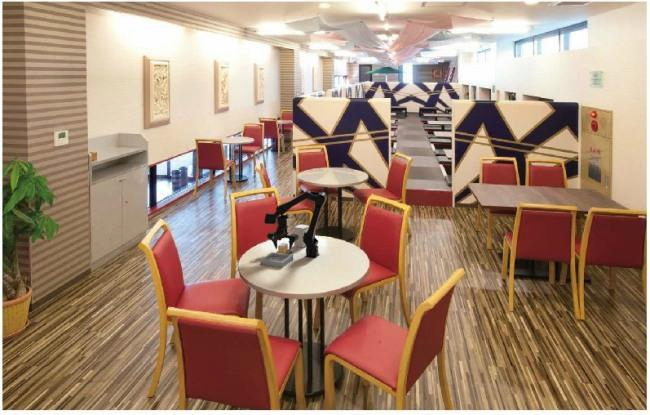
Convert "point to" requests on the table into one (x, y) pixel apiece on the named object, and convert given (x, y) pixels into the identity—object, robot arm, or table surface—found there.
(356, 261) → the table surface
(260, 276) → the table surface
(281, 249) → the white and orange block
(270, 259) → the tray
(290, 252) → the holder
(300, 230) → the supplement box
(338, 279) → the table surface
